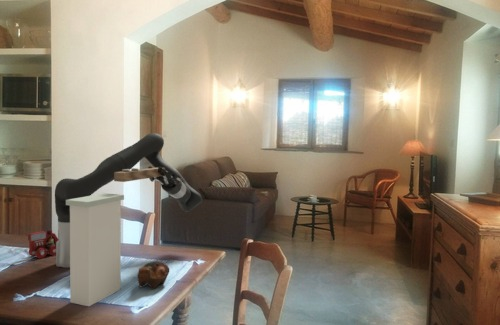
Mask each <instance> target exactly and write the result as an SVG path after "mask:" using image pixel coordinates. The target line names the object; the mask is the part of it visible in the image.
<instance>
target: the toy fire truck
mask: <svg viewBox="0 0 500 325" xmlns="http://www.w3.org/2000/svg"><path fill="white" fill-rule="evenodd" d="M27 240H28V245H29V246H28V248H29V250H28V254H29V256H31V257H36V258H38V259H44V258H45V257H46V256H47V254H49V255H50V256H53V257H55V256H56V242H57V241H58V235H56V233H54V232H53V230H52V229H48V230H47V231H44V230H41V231H37V232H32V233H31V232H30V233H29V234H27Z"/></svg>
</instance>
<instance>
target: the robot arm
mask: <svg viewBox="0 0 500 325" xmlns="http://www.w3.org/2000/svg"><path fill="white" fill-rule="evenodd" d="M164 145H165V141H164V137H163V136H162V135H160V134H159V133H156V132H154V133H153V132H152V133H148V134H146V135H145V136H143V138H141V139H140V140H138V141H137V142H135V143H133V144H132V145H129V146H128V147H126V148H124V149H122V150H120V151H118V152H116V153H114V154H112V155H110V156H109V157H106V158H105V159H104V160H102V161H101V162H100V163H99V164H98V165H97V166H96V168H95V169H94V170H93V171H92V172H90V173H88V174H86V175H84V176H82V177H80V178H77V179H75V178H69V177H68V178H62V179H60V180H59V181H58V182H57V184H56V186H55V190H54V207H55V208H54V209H55V214H56V215H57V238H58V241H57V242H56V255H55V256H56V258H55V260H56V261H55V262H56V265H55V266H56V267H61V268H70V205H66V200H69V199H74V198H80V197H86V196H91V195H94V193H95V192H97V191H99V189H101V188H102V187H104V186H107V185H108V184H109V183H111V182H113V181H114V172H121V171H122V169H130V170H131V168H134V167H135V166H136V165H137V164H138V163H139V162H140V161H141V160H143V159H144V158H145V159H146V160H147V161H148V162H149V163H150V164H151V165H152V166H153V167H152V166H150V165H149V166H148V167H147V169H148V168H158V173H160V174H161V175H162V176H159V177H153V178H148V179H149V181H151V182H154V181H155V182H156V181H157V182H156V183H159V184H160V185H161V188H162V190H163V191H165V192H166V193H167V194H168V195H169V196H171V197H172V198H174V199H175V201H177V202H178V204H179V207H180V209H181V210H182V211H183V212H187V213H189V212H190V211H192V210H194V208H196V207H198V206H199V205H200V204H201V203H202V202H203V197H202V195H201V193H199V191H197V190H196V189H195V188H193V187H192V186H191V185H189V183H188V181H186V179H185V177H183V175H182V174H181V173H180V171H178V170H177V169H176V168H175V167H174V166H172V165H171V164H168V163H167V161H165V159H164V158H163V157H162V155H161V154H160V152H161V150H162V149H163V147H164ZM163 168H165V170H164V169H163Z"/></svg>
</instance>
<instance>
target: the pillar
mask: <svg viewBox="0 0 500 325" xmlns="http://www.w3.org/2000/svg"><path fill="white" fill-rule="evenodd" d="M123 200H125V195H124V194H117V193H107V192H106V193H105V192H103V193H99V194H92V195H90V196H86V197H80V198H74V199H69V200H66V205H70V267H69V269H70V270H69V274H70V275H69V276H70V277H69V280H70V285H69V286H70V288H69V289H70V291H69V292H70V293H69V294H70V296H69V297H70V299H69V300H70V303H71V304H74V305H75V304H77V305H81V306H86V307H91V306H92V305H94V304H96V303H98V302H100V301H101V300H103V299H105V298H107V297H109V296H112V295H113V294H114V293H116V292H118V291H120V290H121V288H122V287H121V286H122V285H121V284H122V283H121V281H122V280H121V276H122V275H121V271H122V270H121V266H122V264H121V262H122V259H121V254H122V251H121V250H122V248H121V244H122V243H121V242H122V239H121V238H122V237H121V236H122V231H121V230H122V229H121V228H122V227H121V226H122V223H121V222H122V220H121V219H122V218H121V217H122V212H121V210H122V209H121V208H122V205H121V201H123Z"/></svg>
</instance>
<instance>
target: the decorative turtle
mask: <svg viewBox="0 0 500 325" xmlns="http://www.w3.org/2000/svg"><path fill="white" fill-rule="evenodd" d="M169 274H170V268H169V266H168V265H167V264H166V263H164V262H161V261H150V262H147V263H145V264H144V265H143V266H141V267H140V268H139V269H138V272H137V282H138V285H139V287H140V288H143V287H146V285H149V287H150V288H151V289H153V290H155V289H156V288H158V287H159V285H164V284H165V282H166V280H167V278H168V276H169Z"/></svg>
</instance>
